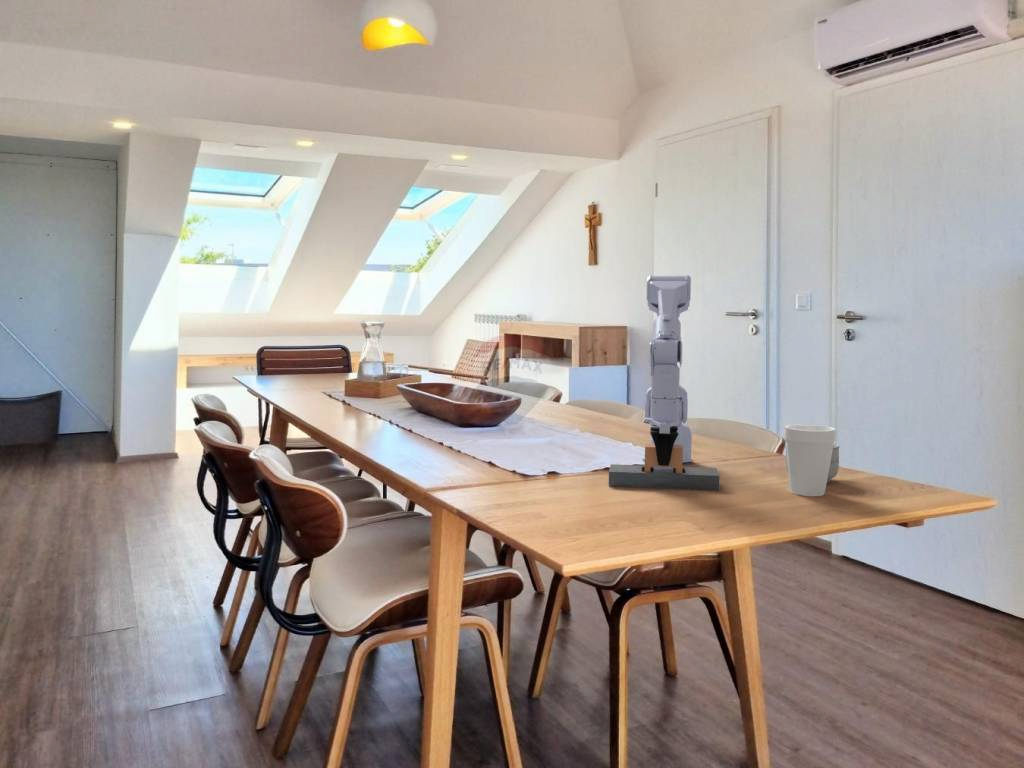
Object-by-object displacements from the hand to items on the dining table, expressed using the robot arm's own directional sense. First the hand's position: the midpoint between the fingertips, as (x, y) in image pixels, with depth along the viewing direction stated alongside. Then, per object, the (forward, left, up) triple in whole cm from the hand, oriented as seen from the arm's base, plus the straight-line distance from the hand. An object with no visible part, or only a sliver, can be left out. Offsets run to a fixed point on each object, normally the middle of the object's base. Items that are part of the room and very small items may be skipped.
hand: (663, 463), depth 169 cm
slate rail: (0, 0, -4) cm, 4 cm away
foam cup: (-20, +20, -5) cm, 29 cm away
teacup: (-31, +13, -5) cm, 34 cm away
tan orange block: (0, 0, -3) cm, 3 cm away
